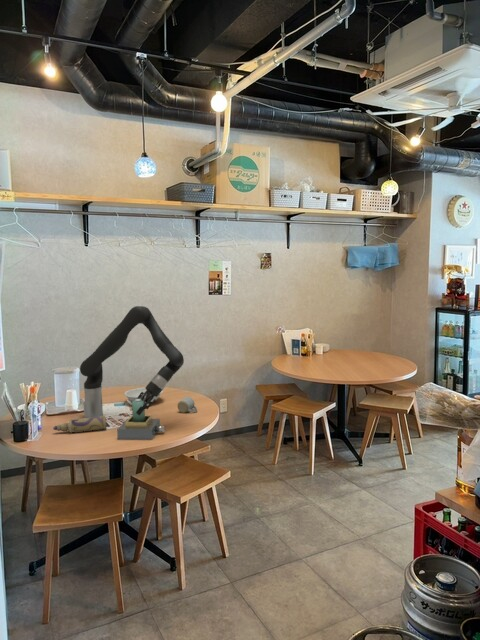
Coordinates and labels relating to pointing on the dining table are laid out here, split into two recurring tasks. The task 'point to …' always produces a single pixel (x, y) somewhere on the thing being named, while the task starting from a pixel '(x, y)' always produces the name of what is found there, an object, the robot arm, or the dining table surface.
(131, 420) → the grey metal block
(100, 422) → the decorative bottle
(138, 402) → the oil can
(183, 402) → the ceramic mug
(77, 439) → the dining table surface
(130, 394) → the soup bowl
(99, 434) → the dining table surface
